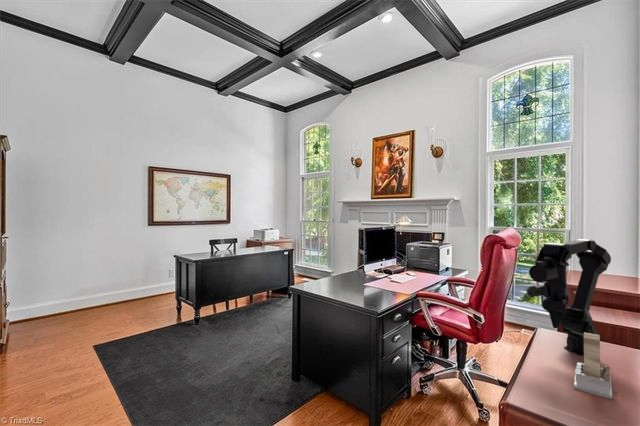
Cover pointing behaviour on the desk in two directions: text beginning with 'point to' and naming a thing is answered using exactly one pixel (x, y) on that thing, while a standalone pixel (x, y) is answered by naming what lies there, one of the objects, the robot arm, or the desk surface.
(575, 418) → the desk surface
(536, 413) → the desk surface
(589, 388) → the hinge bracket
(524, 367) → the desk surface
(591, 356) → the tan wooden block
